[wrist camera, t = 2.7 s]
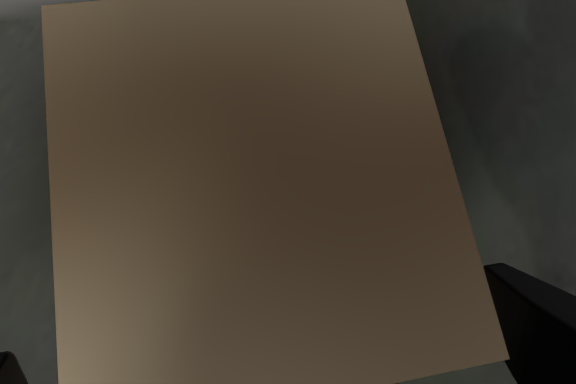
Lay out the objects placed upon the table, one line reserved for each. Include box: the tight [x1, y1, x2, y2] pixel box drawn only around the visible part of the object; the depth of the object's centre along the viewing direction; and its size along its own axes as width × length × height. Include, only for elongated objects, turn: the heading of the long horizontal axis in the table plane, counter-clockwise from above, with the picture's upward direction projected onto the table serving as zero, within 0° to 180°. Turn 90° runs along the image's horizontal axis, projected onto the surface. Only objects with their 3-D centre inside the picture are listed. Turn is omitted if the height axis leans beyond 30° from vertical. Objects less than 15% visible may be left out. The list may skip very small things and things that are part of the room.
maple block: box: [41, 0, 510, 384], centre depth 12 cm, size 5×5×14 cm
